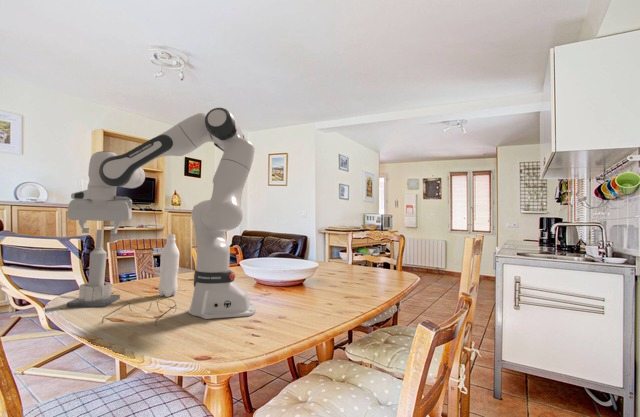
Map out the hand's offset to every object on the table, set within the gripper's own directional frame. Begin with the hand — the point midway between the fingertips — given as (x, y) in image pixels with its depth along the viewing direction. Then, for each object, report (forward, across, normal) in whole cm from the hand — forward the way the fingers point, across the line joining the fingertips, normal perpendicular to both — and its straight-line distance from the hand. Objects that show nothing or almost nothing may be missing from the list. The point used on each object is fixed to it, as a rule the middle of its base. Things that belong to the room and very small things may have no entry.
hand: (99, 233), depth 118 cm
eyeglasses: (+26, -22, +19) cm, 39 cm away
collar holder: (+25, 0, 0) cm, 25 cm away
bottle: (+24, 0, 0) cm, 24 cm away
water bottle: (+26, -22, -11) cm, 35 cm away
